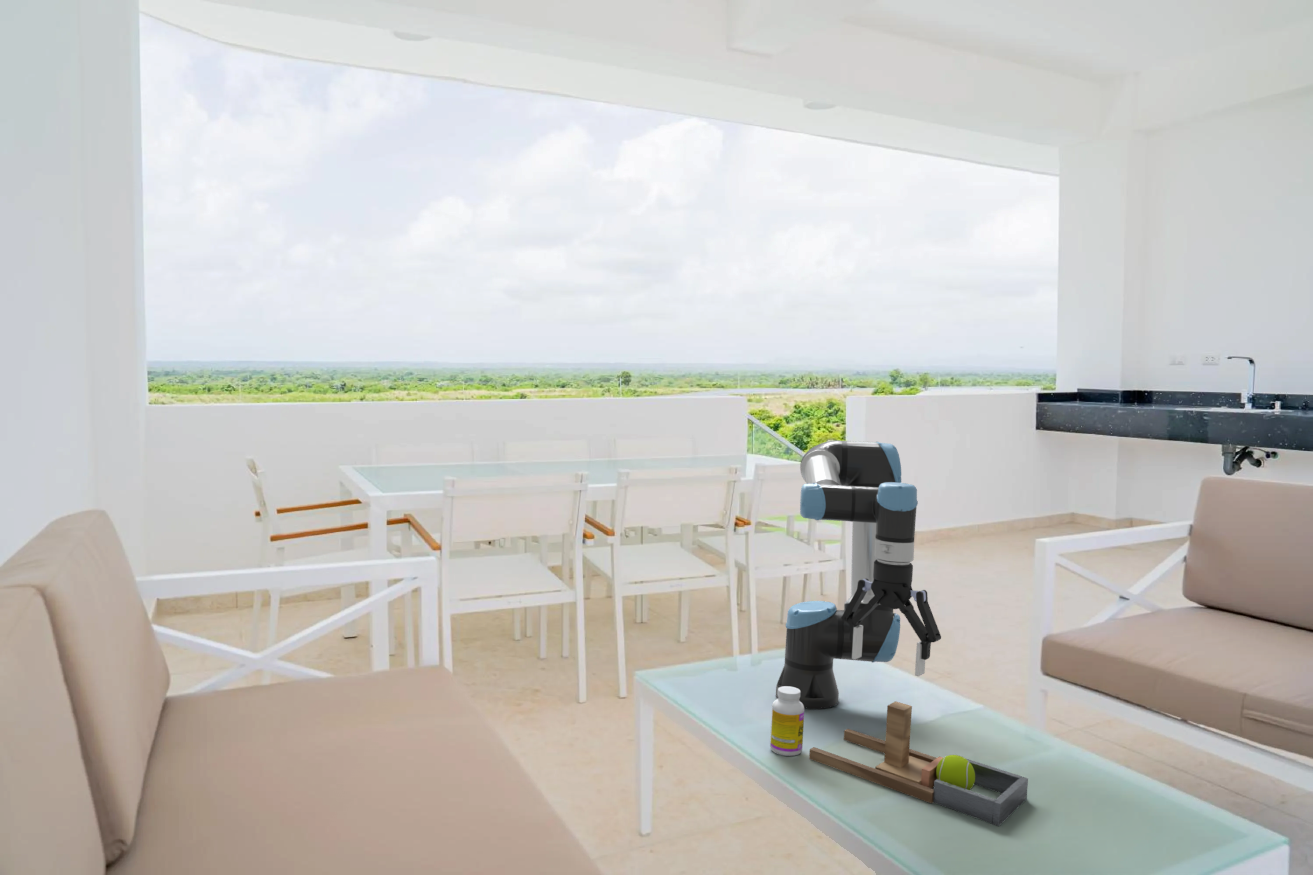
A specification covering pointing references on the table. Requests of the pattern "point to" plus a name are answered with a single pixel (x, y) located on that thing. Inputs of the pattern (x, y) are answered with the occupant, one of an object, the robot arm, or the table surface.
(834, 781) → the table surface
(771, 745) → the supplement bottle
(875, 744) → the track rails
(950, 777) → the tennis ball
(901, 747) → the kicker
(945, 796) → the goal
